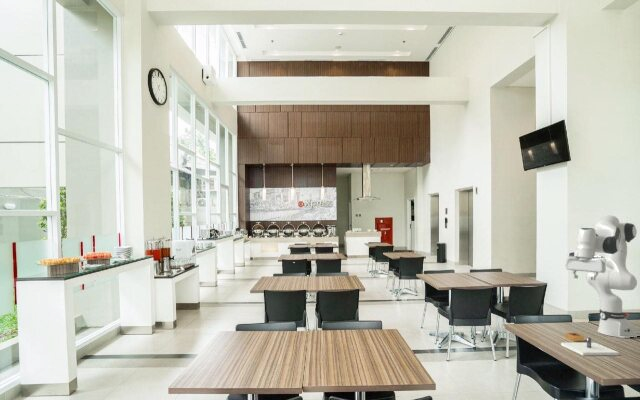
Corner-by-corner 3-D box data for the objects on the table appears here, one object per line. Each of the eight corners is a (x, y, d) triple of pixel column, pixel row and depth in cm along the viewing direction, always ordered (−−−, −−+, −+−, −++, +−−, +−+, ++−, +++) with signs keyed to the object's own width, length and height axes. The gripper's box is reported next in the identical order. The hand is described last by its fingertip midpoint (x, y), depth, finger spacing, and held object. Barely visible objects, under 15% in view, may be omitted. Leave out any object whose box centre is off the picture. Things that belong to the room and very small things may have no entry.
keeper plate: (594, 345, 216) (594, 333, 217) (618, 355, 200) (618, 342, 201) (561, 345, 215) (561, 333, 215) (582, 355, 199) (582, 342, 199)
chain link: (575, 337, 229) (575, 332, 230) (584, 341, 223) (583, 336, 223) (565, 337, 229) (565, 332, 229) (573, 341, 222) (573, 336, 223)
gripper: (608, 257, 213) (607, 282, 211) (571, 255, 232) (569, 278, 229) (602, 255, 211) (601, 280, 209) (564, 253, 229) (563, 276, 227)
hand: (584, 279), depth 219 cm, fingers open, 8 cm apart
